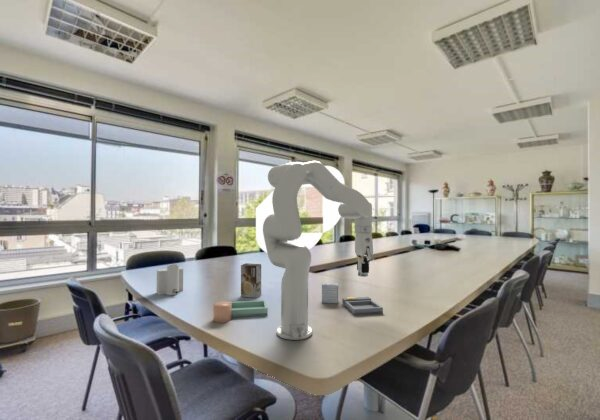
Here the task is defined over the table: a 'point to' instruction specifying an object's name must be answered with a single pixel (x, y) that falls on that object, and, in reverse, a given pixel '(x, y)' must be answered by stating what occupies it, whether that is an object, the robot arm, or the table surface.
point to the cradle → (361, 306)
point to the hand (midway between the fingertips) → (362, 271)
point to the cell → (361, 268)
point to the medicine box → (329, 292)
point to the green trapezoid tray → (249, 308)
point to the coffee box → (250, 280)
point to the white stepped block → (170, 280)
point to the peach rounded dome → (222, 312)
